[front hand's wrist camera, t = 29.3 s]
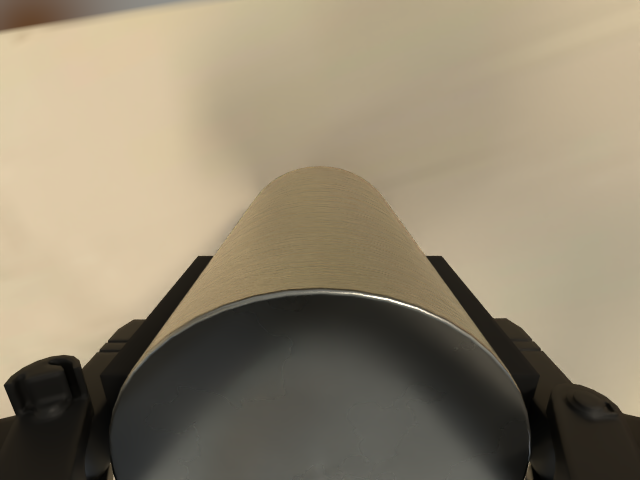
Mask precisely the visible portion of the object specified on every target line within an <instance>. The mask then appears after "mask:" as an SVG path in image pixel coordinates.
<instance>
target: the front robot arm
mask: <svg viewBox="0 0 640 480" xmlns="http://www.w3.org/2000/svg"><path fill="white" fill-rule="evenodd" d="M213 257H214V256H198V257H197V258H196V259H195V261H194V262H193V263H192V264H191V265H190V267H189V268H188V269H187V270H186V271H185V273H184V274H183V275H182V276H181V277H180V279H179V280H178V281H177V282H176V284H175V285H174V286H173V287H172V288H171V290H170V291H169V292H168V293H167V294H166V296H165V297H164V298H163V299H162V300H161V302H160V303H159V304H158V305H157V306H156V308H155V309H154V310H153V311H152V313H151V314H150V315H149V316H148V317H147V319H146V320H132V321H131V322H129V323H128V324H126V325H124V326H123V327H121V328H120V329H118V330H117V331H116V332H115V334H114V335H113V336H112V337H111V338H110V339H109V340H108V343H105V345H104V346H103V347H102V348H101V349H100V351H99V352H97V353H96V354H95V355H94V357H93V358H92V359H91V360H90V361H89V362H88V363H87V364H86V365H85V366H84V367H83V369H82V368H81V364H80V361H79V360H78V359H77V358H75V357H74V356H68V355H60V356H52V357H48V358H45V359H42V360H39V361H36V362H34V363H32V364H30V365H28V366H26V367H24V368H22V369H21V370H19V371H18V372H16V373H15V374H14V375H12V376H11V377H10V378H9V379H8V381H7V382H6V383H5V384H4V387H5V390H6V392H7V395H8V397H9V399H10V402H11V404H12V407H13V409H14V412H15V414H16V415H15V416H11V417H7V418H3V419H0V480H113V472H112V467H111V464H110V463H111V461H110V456H109V428H110V423H111V417H112V411H113V408H114V405H115V402H116V400H117V397H118V394H119V392H120V389H121V387H122V386H123V384H124V382H125V381H126V379H127V377H128V376H129V374H130V372H131V371H132V369H133V368H134V366H135V365H136V363H137V362H138V361H139V359H140V358H141V356H142V355H143V354H144V352H145V351H146V350H147V348H148V347H149V345H150V344H151V343H152V341H153V340H154V338H155V337H156V336H157V334H158V333H159V332H160V330H161V329H162V327H163V326H164V325H165V323H166V322H167V320H168V319H169V318H170V316H171V315H172V314H173V312H174V311H175V309H176V308H177V307H178V305H179V304H180V302H181V301H182V300H183V298H184V297H185V296H186V294H187V293H188V291H189V290H190V289H191V287H192V286H193V284H194V283H195V282H196V280H197V279H198V277H199V276H200V275H201V273H202V272H203V271H204V269H205V268H206V266H207V265H208V264H209V262H210V261H211V259H212V258H213ZM426 257H427V259H428V260H429V261H430V263H431V264H432V266H433V267H434V268H435V270H436V271H437V272H438V274H439V275H440V277H441V278H442V279H443V281H444V282H445V284H446V285H447V286H448V288H449V289H450V290H451V292H452V293H453V295H454V296H455V297H456V299H457V300H458V301H459V303H460V304H461V306H462V307H463V308H464V310H465V311H466V313H467V314H468V315H469V317H470V318H471V319H472V321H473V322H474V324H475V325H476V326H477V328H478V329H479V331H480V332H481V333H482V335H483V336H484V337H485V339H486V340H487V342H488V343H489V344H490V346H491V347H492V349H493V350H494V351H495V353H496V354H497V355H498V357H499V358H500V360H501V361H502V362H503V364H504V365H505V367H506V368H507V369H508V371H509V373H510V374H511V376H512V378H513V379H514V381H515V383H516V385H517V386H518V388H519V390H520V392H521V395H522V398H523V400H524V403H525V406H526V409H527V412H528V419H529V425H530V431H531V453H530V459H529V461H530V464H529V467H528V470H527V474H526V477H525V480H640V417H635V416H631V415H627V414H623V413H622V412H621V411H620V409H619V408H618V406H617V405H615V404H614V403H613V402H612V401H611V400H609V399H608V398H607V397H605V396H604V395H602V394H600V393H598V392H596V391H595V390H593V389H590V388H587V387H584V386H581V385H577V384H573V383H572V382H571V381H570V380H569V379H568V378H567V377H566V376H565V375H564V374H563V373H562V371H561V370H560V369H559V368H558V367H557V366H556V365H555V364H554V363H553V362H552V361H551V360H550V358H549V357H548V356H547V355H546V354H545V353H544V352H543V351H541V349H540V348H539V346H538V345H537V344H536V343H535V342H532V339H531V338H530V337H529V336H528V335H527V333H526V332H525V331H524V330H523V329H522V328H521V327H519V326H517V325H516V324H514V323H513V322H511V321H509V320H508V319H506V318H492V316H491V315H490V314H489V313H488V312H487V310H486V309H485V308H484V307H483V306H482V304H481V303H480V302H479V301H478V300H477V298H476V297H475V296H474V295H473V293H472V292H471V291H470V290H469V289H468V287H467V286H466V285H465V284H464V283H463V281H462V280H461V279H460V278H459V277H458V275H457V274H456V273H455V272H454V271H453V269H452V268H451V267H450V266H449V264H448V263H447V262H446V261H445V260H444V258H443V257H442V256H426Z"/></svg>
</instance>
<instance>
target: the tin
mask: <svg viewBox="0 0 640 480" xmlns="http://www.w3.org/2000/svg"><path fill="white" fill-rule="evenodd" d="M530 453H531V431H530V425H529V419H528V412H527V409H526V406H525V403H524V400H523V398H522V395H521V392H520V390H519V388H518V386H517V385H516V383H515V381H514V379H513V378H512V376H511V374H510V373H509V371H508V369H507V368H506V367H505V365H504V364H503V362H502V361H501V360H500V358H499V357H498V355H497V354H496V353H495V351H494V350H493V349H492V347H491V346H490V344H489V343H488V342H487V340H486V339H485V337H484V336H483V335H482V333H481V332H480V331H479V329H478V328H477V326H476V325H475V324H474V322H473V321H472V319H471V318H470V317H469V315H468V314H467V313H466V311H465V310H464V308H463V307H462V306H461V304H460V303H459V301H458V300H457V299H456V297H455V296H454V295H453V293H452V292H451V290H450V289H449V288H448V286H447V285H446V284H445V282H444V281H443V279H442V278H441V277H440V275H439V274H438V272H437V271H436V270H435V268H434V267H433V266H432V264H431V263H430V261H429V260H428V259H427V257H426V256H425V254H424V253H423V252H422V250H421V249H420V248H419V246H418V245H417V243H416V242H415V241H414V239H413V238H412V236H411V235H410V234H409V232H408V231H407V230H406V228H405V227H404V225H403V224H402V223H401V221H400V220H399V218H398V217H397V216H396V214H395V213H394V212H393V210H392V209H391V207H390V206H389V205H388V203H387V202H386V200H385V199H384V198H383V197H382V195H381V194H380V193H379V192H378V191H377V190H376V189H375V188H374V187H373V186H372V185H371V184H370V183H368V182H367V181H366V180H364V179H363V178H361V177H359V176H357V175H355V174H353V173H351V172H348V171H345V170H343V169H338V168H333V167H324V166H316V167H306V168H301V169H297V170H294V171H291V172H288V173H286V174H284V175H282V176H280V177H278V178H277V179H276V180H274V181H273V182H271V183H270V184H269V185H268V186H266V187H265V188H264V189H263V190H262V191H261V192H260V194H259V195H258V196H257V197H256V198H255V200H254V201H253V203H252V204H251V205H250V207H249V208H248V210H247V211H246V212H245V214H244V215H243V217H242V218H241V219H240V221H239V222H238V223H237V225H236V226H235V228H234V229H233V230H232V232H231V233H230V235H229V236H228V237H227V239H226V240H225V241H224V243H223V244H222V246H221V247H220V248H219V250H218V251H217V253H216V254H215V255H214V257H213V258H212V259H211V261H210V262H209V264H208V265H207V266H206V268H205V269H204V271H203V272H202V273H201V275H200V276H199V277H198V279H197V280H196V282H195V283H194V284H193V286H192V287H191V289H190V290H189V291H188V293H187V294H186V296H185V297H184V298H183V300H182V301H181V302H180V304H179V305H178V307H177V308H176V309H175V311H174V312H173V314H172V315H171V316H170V318H169V319H168V320H167V322H166V323H165V325H164V326H163V327H162V329H161V330H160V332H159V333H158V334H157V336H156V337H155V338H154V340H153V341H152V343H151V344H150V345H149V347H148V348H147V350H146V351H145V352H144V354H143V355H142V356H141V358H140V359H139V361H138V362H137V363H136V365H135V366H134V368H133V369H132V371H131V372H130V374H129V376H128V377H127V379H126V381H125V382H124V384H123V386H122V387H121V389H120V392H119V394H118V397H117V400H116V402H115V405H114V408H113V411H112V417H111V423H110V428H109V456H110V461H111V466H112V471H113V474H114V477H115V480H524V479H525V476H526V473H527V468H528V464H529V459H530Z"/></svg>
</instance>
